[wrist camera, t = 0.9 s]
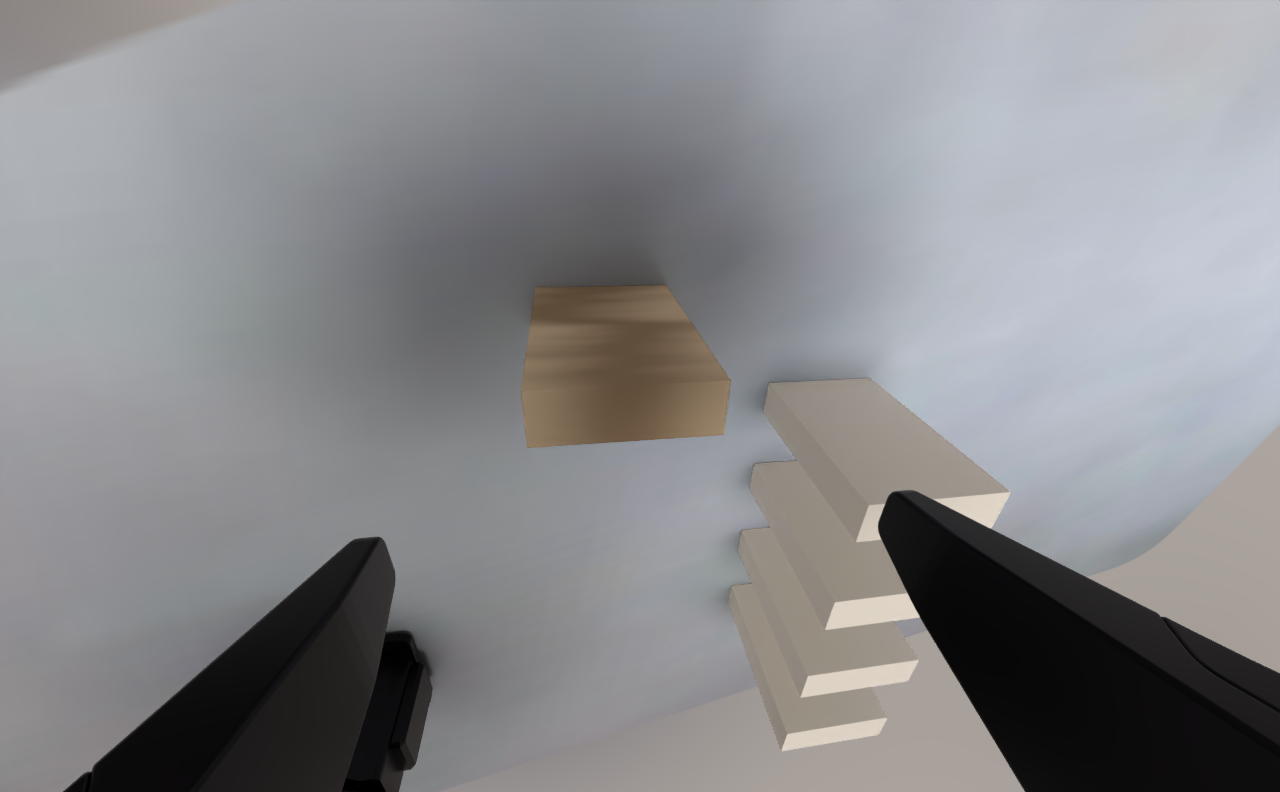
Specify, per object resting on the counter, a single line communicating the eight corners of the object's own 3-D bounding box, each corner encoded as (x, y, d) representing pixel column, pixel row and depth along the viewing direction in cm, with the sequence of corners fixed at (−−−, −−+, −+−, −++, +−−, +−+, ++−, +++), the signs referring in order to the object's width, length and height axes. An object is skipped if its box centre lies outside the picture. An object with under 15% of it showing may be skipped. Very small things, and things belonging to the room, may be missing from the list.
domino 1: (763, 412, 22) (855, 542, 15) (768, 382, 21) (868, 505, 14) (861, 407, 23) (991, 528, 16) (869, 377, 22) (1010, 491, 15)
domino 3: (738, 550, 27) (800, 697, 20) (741, 530, 26) (808, 676, 19) (819, 541, 27) (907, 681, 20) (826, 522, 27) (919, 659, 20)
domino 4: (728, 603, 29) (781, 751, 22) (731, 585, 28) (787, 733, 21) (804, 594, 30) (878, 734, 23) (809, 576, 29) (888, 717, 22)
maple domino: (538, 327, 18) (527, 447, 12) (535, 287, 18) (520, 390, 11) (664, 323, 19) (723, 434, 12) (666, 285, 18) (731, 380, 11)
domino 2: (749, 488, 24) (824, 630, 17) (753, 463, 24) (835, 602, 17) (838, 480, 25) (944, 613, 18) (845, 456, 24) (959, 586, 17)
